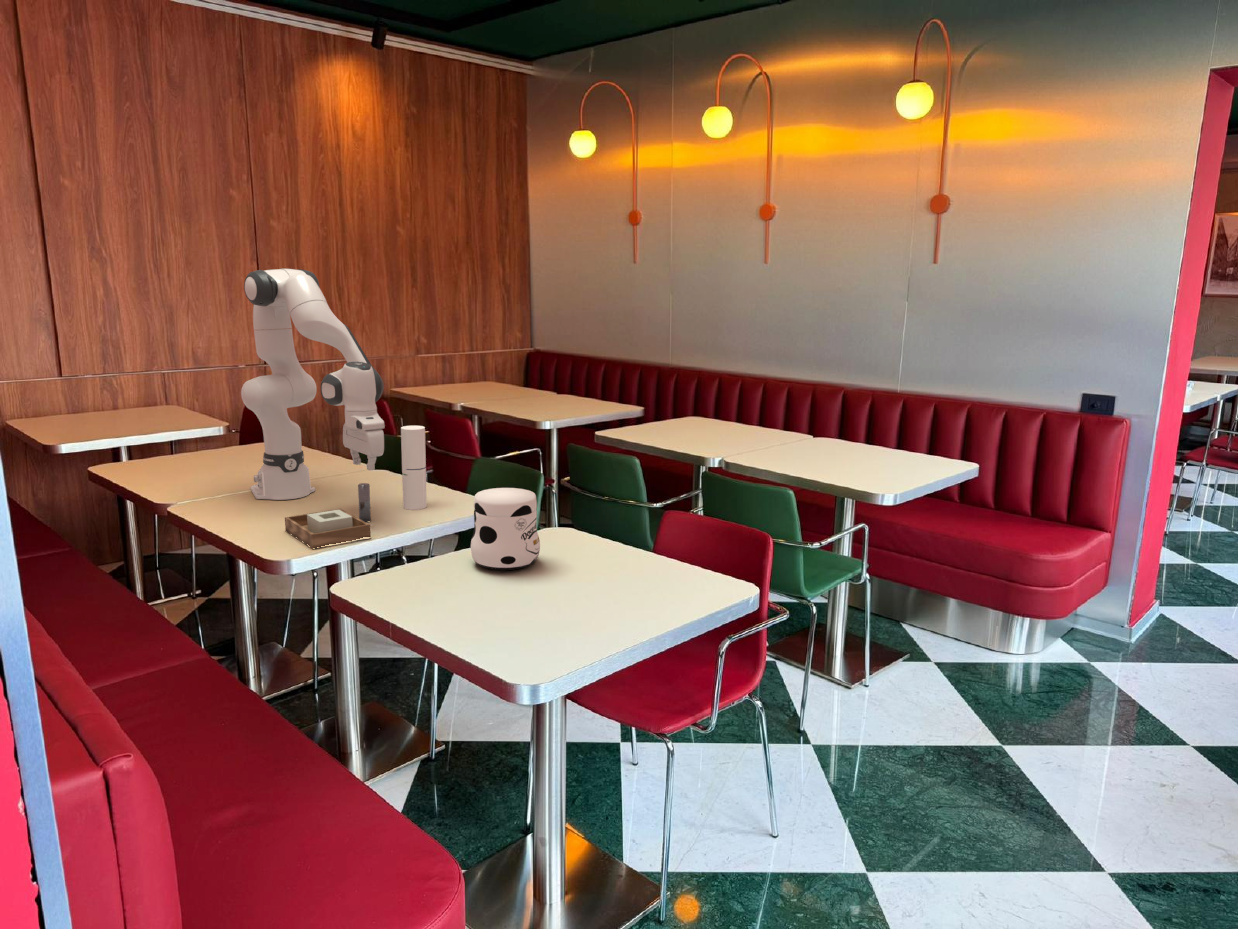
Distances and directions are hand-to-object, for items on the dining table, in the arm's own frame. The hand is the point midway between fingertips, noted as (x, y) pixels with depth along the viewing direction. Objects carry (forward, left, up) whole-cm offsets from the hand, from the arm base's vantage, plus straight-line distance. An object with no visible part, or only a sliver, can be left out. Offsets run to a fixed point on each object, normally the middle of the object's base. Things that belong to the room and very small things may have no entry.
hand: (363, 467), depth 249 cm
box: (+7, -14, -16) cm, 22 cm away
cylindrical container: (-6, +19, -16) cm, 26 cm away
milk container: (+55, +12, -16) cm, 59 cm away
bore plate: (+9, -14, -16) cm, 23 cm away
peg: (0, 0, -16) cm, 16 cm away
